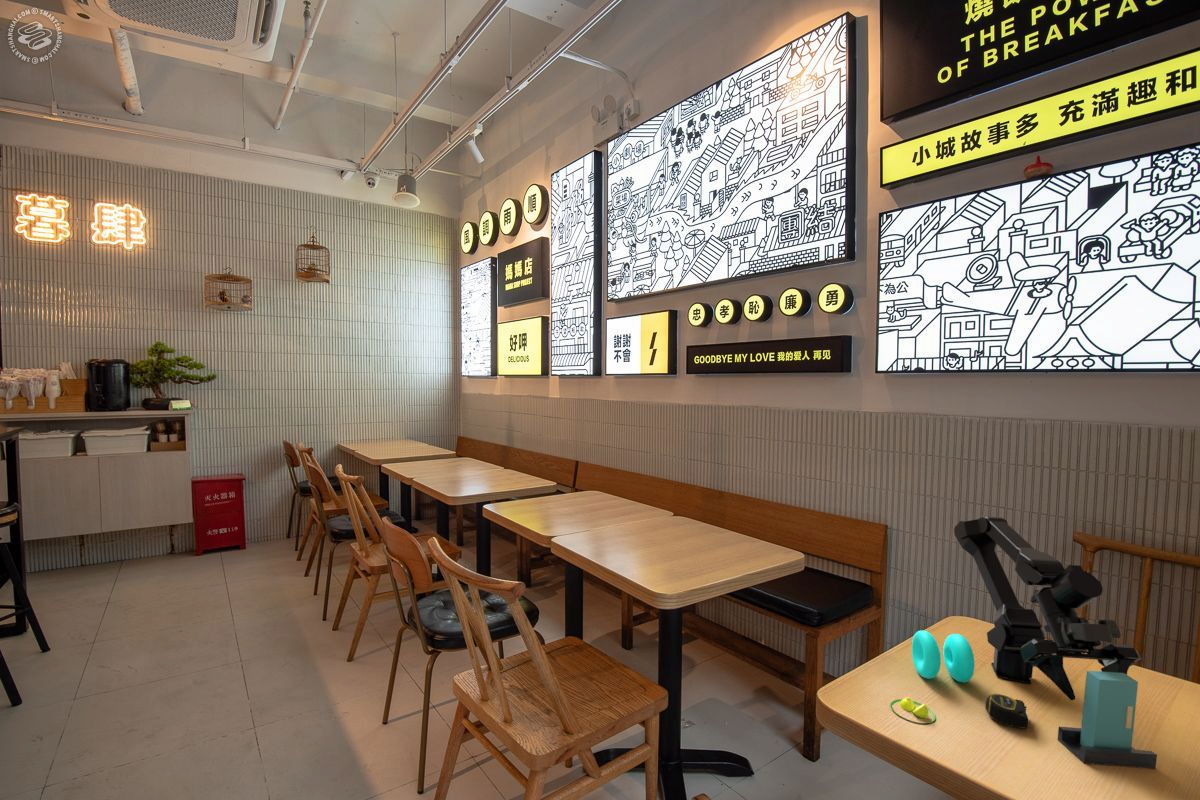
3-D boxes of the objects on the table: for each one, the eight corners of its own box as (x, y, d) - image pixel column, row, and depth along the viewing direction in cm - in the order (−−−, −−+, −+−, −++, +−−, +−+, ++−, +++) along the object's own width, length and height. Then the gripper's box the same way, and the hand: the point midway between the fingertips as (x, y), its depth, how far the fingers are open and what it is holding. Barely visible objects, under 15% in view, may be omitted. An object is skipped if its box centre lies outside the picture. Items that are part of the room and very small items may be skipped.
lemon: (940, 714, 116) (941, 701, 116) (928, 731, 111) (929, 717, 111) (898, 697, 122) (899, 684, 122) (884, 712, 116) (885, 699, 116)
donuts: (975, 692, 124) (978, 647, 124) (925, 686, 126) (928, 642, 125) (954, 668, 134) (957, 626, 134) (908, 663, 136) (911, 622, 135)
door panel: (1079, 743, 107) (1086, 670, 106) (1116, 746, 107) (1123, 673, 106) (1093, 755, 104) (1100, 680, 103) (1131, 758, 103) (1139, 682, 103)
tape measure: (1027, 735, 110) (1029, 716, 110) (984, 722, 114) (986, 704, 114) (1025, 718, 116) (1027, 700, 116) (984, 705, 120) (986, 688, 119)
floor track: (1057, 739, 109) (1058, 726, 109) (1124, 744, 108) (1126, 731, 108) (1083, 763, 103) (1085, 749, 102) (1155, 768, 102) (1157, 754, 102)
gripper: (1035, 598, 112) (1072, 685, 102) (1137, 604, 110) (1185, 693, 100) (1006, 620, 120) (1037, 702, 110) (1100, 625, 119) (1141, 709, 109)
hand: (1099, 701), depth 107 cm, fingers open, 9 cm apart
